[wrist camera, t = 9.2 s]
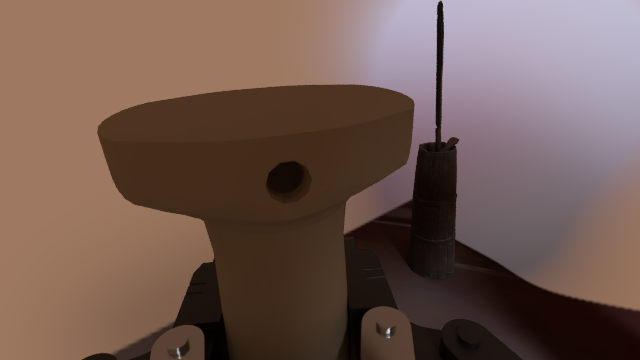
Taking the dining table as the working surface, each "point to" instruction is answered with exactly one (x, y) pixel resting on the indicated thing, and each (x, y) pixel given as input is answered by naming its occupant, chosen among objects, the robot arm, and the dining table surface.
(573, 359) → the dining table surface
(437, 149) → the butter churn
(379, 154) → the handle
